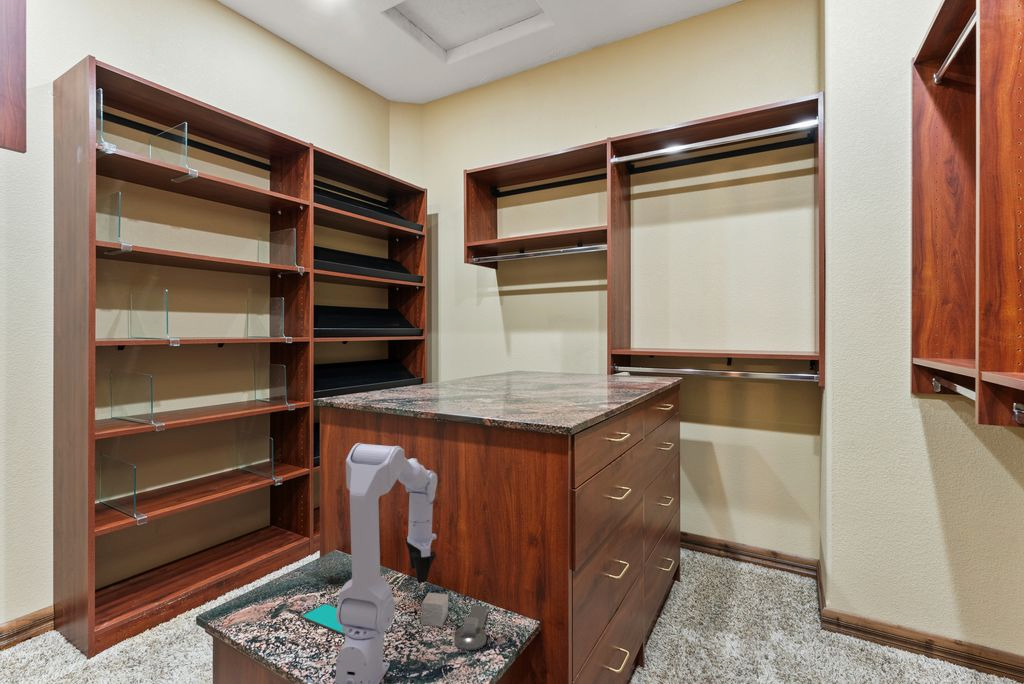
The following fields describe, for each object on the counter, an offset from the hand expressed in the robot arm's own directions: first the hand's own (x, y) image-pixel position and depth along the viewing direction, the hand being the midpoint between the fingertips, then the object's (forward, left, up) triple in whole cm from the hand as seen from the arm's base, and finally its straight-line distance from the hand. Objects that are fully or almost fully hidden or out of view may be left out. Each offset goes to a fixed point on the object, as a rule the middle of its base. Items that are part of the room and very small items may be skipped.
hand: (418, 574), depth 116 cm
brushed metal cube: (-3, -5, -9) cm, 11 cm away
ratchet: (-6, -15, -9) cm, 19 cm away
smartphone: (-7, +18, -10) cm, 21 cm away
